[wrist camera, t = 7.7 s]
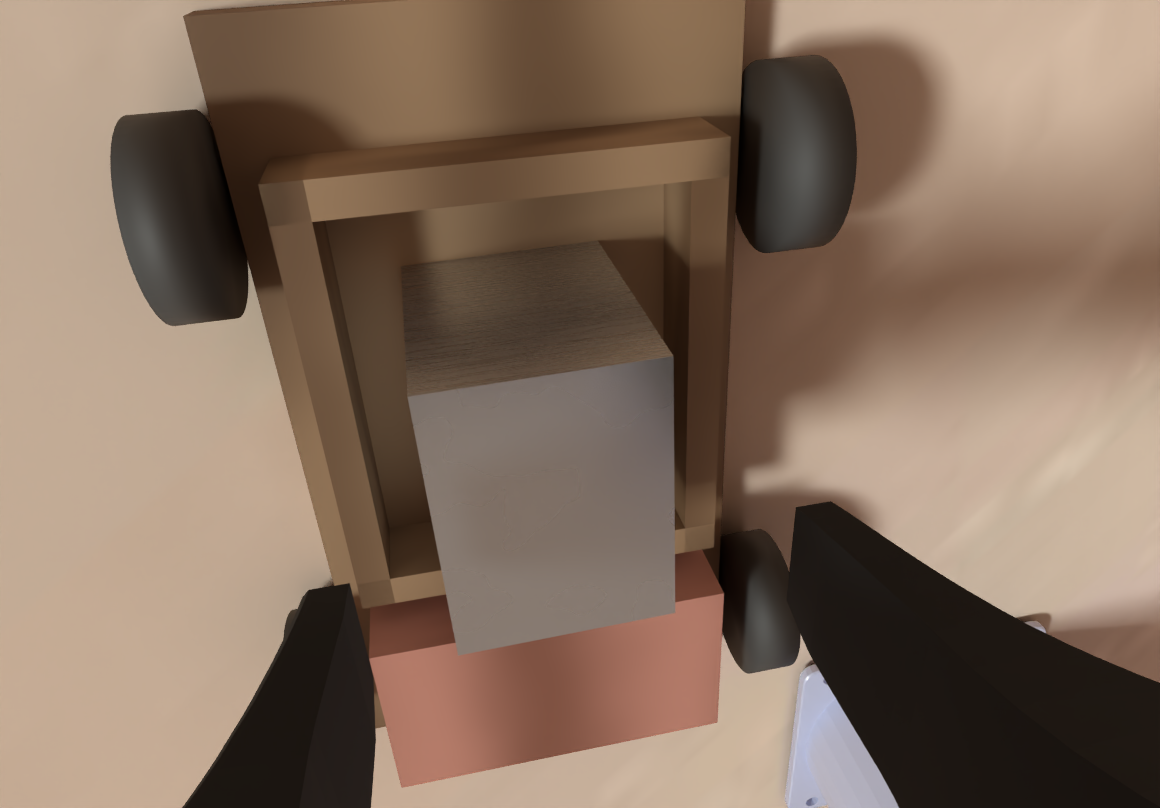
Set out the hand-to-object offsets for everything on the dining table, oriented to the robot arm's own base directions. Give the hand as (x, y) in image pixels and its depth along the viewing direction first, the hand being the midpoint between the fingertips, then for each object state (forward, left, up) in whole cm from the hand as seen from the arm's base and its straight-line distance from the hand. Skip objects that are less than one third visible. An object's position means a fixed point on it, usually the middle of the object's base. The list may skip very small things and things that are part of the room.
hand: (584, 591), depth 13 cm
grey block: (0, 0, -8) cm, 8 cm away
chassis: (0, +2, -9) cm, 10 cm away
